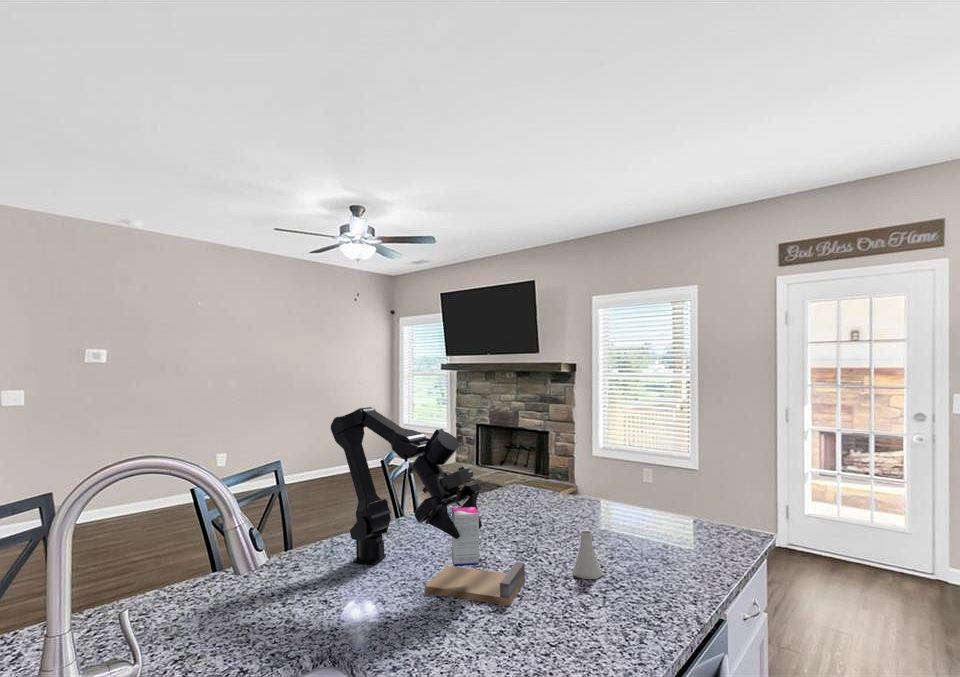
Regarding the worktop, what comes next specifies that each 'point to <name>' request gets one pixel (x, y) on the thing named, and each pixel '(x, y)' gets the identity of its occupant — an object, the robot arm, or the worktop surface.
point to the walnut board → (478, 584)
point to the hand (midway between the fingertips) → (469, 532)
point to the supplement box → (465, 536)
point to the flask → (586, 558)
